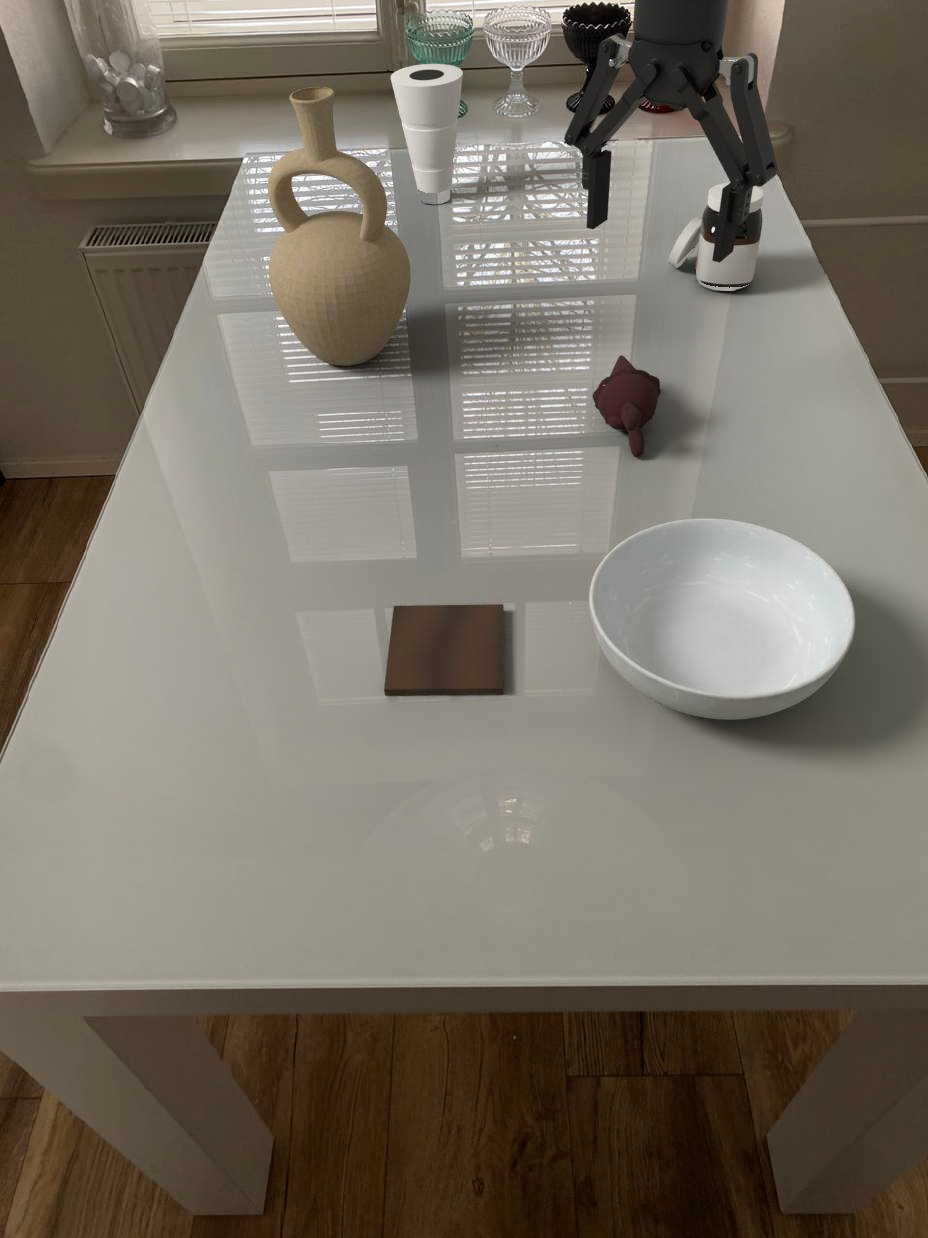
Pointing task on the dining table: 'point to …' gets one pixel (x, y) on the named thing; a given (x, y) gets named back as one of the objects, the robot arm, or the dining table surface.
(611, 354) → the dining table surface
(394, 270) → the vase
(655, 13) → the robot arm
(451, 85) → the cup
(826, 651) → the serving bowl
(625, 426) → the beetroot
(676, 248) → the spread jar
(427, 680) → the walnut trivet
